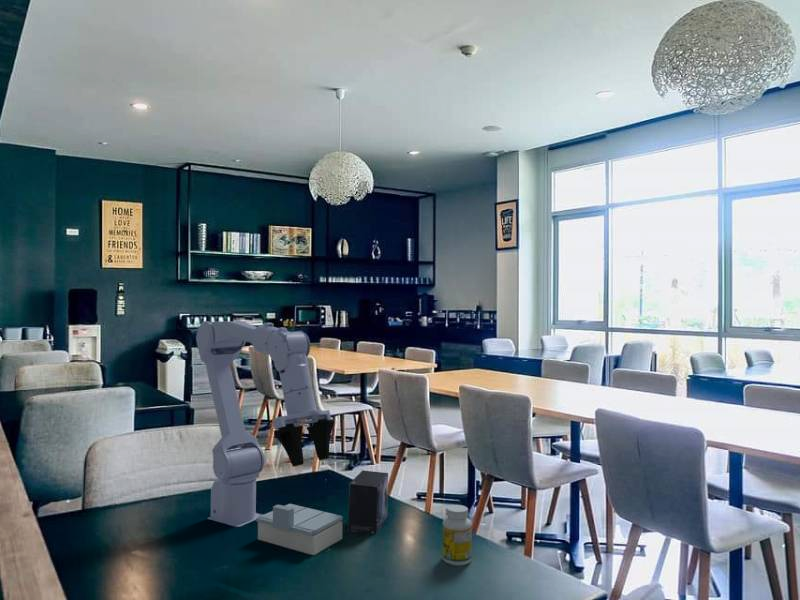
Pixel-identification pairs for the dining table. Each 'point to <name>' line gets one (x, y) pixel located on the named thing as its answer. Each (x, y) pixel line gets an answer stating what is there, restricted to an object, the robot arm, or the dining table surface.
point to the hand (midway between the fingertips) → (311, 462)
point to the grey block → (301, 538)
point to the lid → (299, 519)
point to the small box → (368, 502)
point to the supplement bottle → (457, 536)
